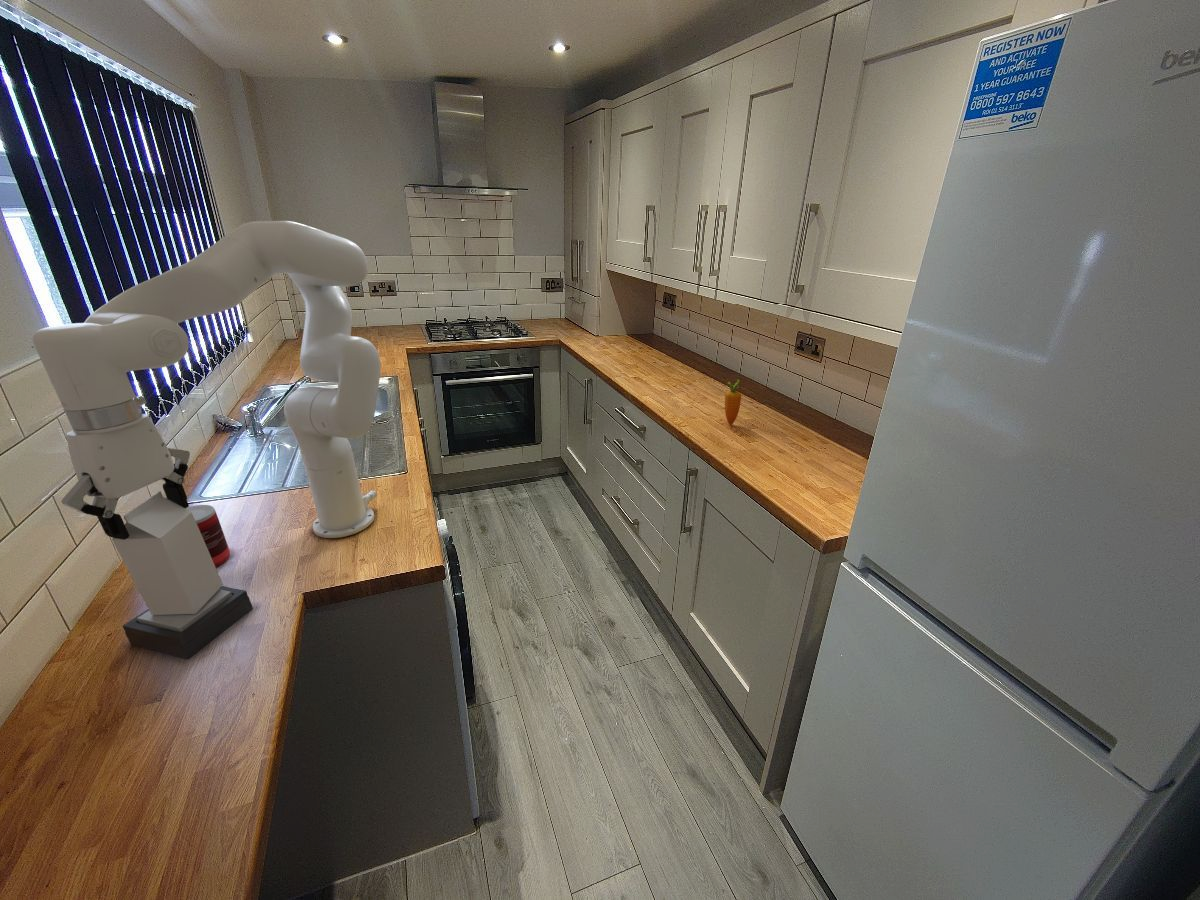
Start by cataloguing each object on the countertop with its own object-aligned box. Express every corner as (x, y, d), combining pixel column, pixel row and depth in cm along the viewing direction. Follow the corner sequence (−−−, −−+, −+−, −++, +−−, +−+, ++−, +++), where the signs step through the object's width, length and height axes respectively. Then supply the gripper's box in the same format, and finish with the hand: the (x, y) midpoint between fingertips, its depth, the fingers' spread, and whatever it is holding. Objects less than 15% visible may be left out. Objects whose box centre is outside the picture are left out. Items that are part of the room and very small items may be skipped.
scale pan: (193, 590, 92) (190, 583, 92) (233, 598, 90) (231, 591, 89) (140, 625, 84) (136, 618, 84) (183, 635, 82) (179, 628, 81)
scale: (200, 597, 95) (193, 579, 93) (253, 608, 92) (246, 590, 90) (130, 645, 84) (121, 625, 83) (187, 659, 82) (179, 639, 80)
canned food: (189, 556, 107) (170, 509, 103) (234, 546, 110) (218, 501, 105) (178, 577, 101) (158, 528, 96) (227, 567, 103) (209, 519, 99)
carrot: (723, 427, 168) (726, 382, 162) (722, 422, 172) (726, 377, 166) (739, 428, 167) (743, 382, 161) (737, 422, 172) (742, 378, 166)
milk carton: (223, 585, 90) (182, 490, 82) (196, 614, 84) (148, 515, 76) (182, 586, 90) (136, 491, 82) (151, 616, 84) (99, 516, 75)
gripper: (149, 394, 82) (187, 492, 89) (9, 435, 66) (68, 550, 73) (186, 397, 80) (221, 497, 87) (50, 440, 64) (107, 557, 72)
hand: (151, 521), depth 80 cm, fingers closed on milk carton, 8 cm apart
